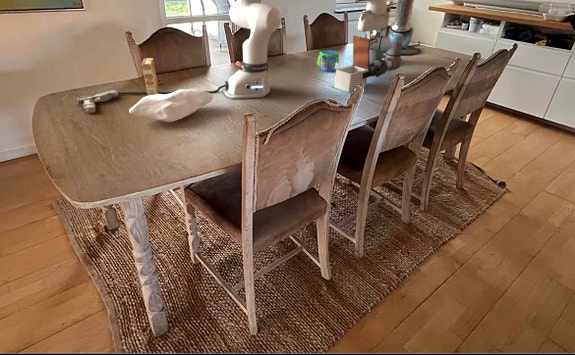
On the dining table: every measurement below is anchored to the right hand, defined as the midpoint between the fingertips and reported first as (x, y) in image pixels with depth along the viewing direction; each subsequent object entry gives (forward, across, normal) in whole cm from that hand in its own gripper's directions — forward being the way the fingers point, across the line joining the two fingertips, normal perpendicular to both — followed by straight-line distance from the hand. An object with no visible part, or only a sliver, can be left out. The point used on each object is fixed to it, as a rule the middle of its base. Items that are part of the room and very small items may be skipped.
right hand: (355, 73), depth 184 cm
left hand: (-9, 0, +16) cm, 18 cm away
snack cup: (-9, +27, -7) cm, 29 cm away
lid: (-2, 0, +10) cm, 10 cm away
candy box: (+86, +47, -7) cm, 99 cm away
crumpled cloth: (+90, +22, -7) cm, 93 cm away
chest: (+3, 0, -7) cm, 7 cm away
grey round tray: (-89, +34, -7) cm, 96 cm away
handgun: (+109, +50, -7) cm, 120 cm away
